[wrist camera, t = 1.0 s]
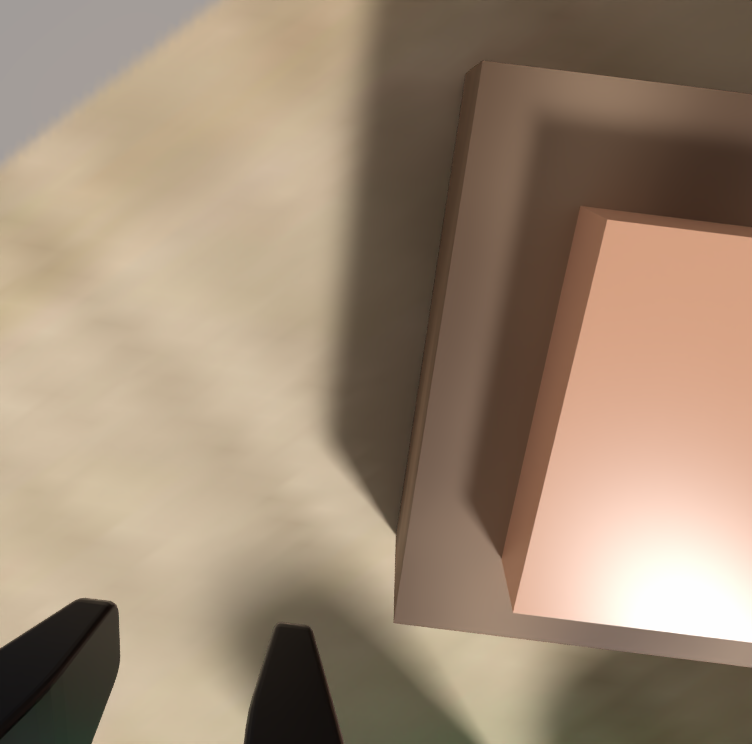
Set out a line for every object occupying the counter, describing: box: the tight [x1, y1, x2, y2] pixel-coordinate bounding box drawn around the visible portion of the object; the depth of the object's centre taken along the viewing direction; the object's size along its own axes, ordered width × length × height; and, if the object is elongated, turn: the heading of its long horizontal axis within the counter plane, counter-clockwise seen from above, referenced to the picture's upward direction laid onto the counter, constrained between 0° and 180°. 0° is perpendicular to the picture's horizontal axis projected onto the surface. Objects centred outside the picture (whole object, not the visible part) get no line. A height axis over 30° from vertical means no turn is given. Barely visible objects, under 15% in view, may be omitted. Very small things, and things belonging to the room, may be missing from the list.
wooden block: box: [394, 61, 752, 667], centre depth 17 cm, size 12×14×4 cm
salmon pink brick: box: [501, 206, 752, 643], centre depth 15 cm, size 6×9×2 cm, turn 173°
